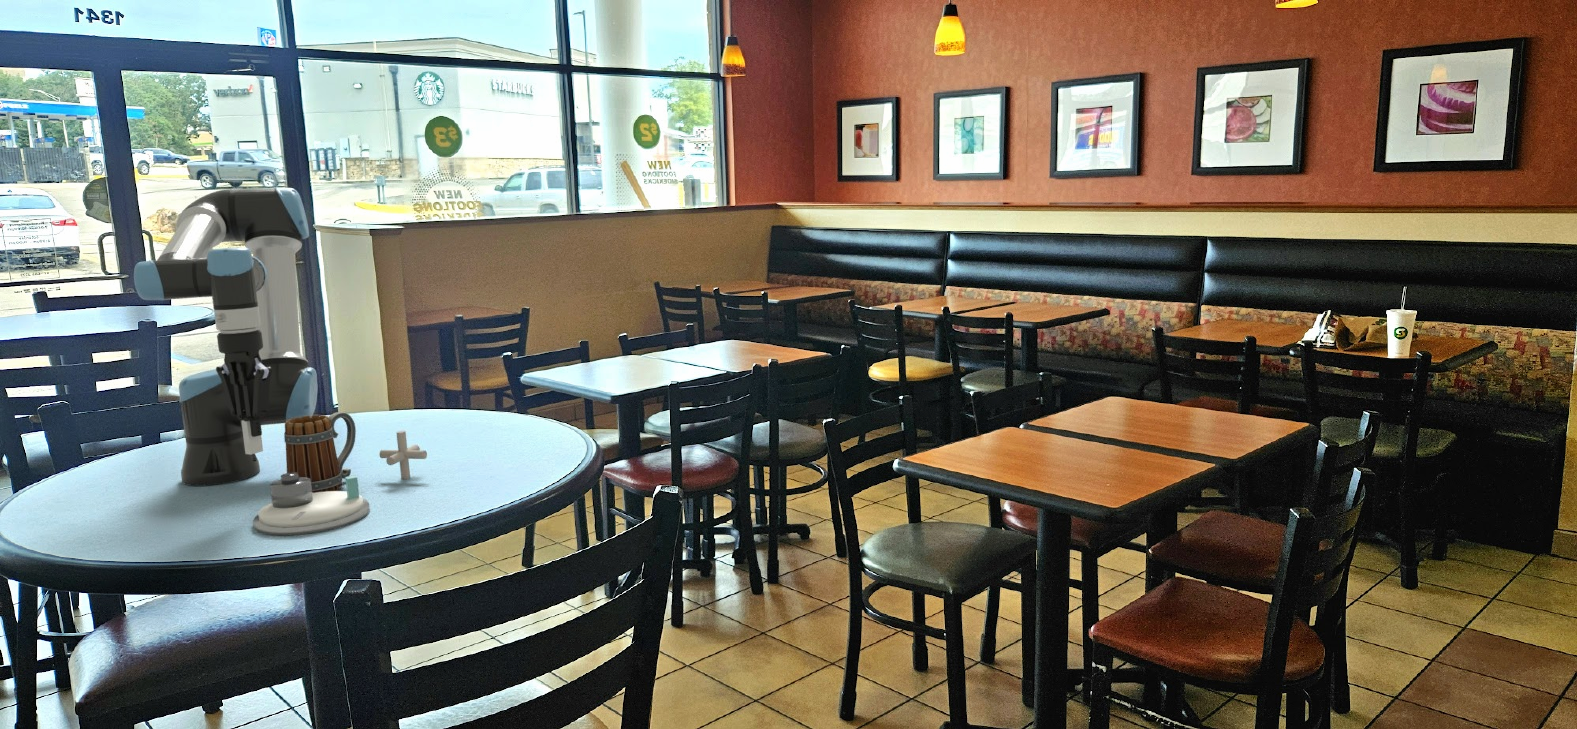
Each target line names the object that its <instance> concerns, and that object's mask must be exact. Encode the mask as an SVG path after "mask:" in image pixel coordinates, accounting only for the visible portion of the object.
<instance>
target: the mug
mask: <svg viewBox="0 0 1577 729" xmlns="http://www.w3.org/2000/svg"><path fill="white" fill-rule="evenodd" d="M352 417H353V416H351V415H350V414H348V413H347V412H339V411H337V412H333V413H331V415H330V416H328V415H325V414H321V415H320V414H313V415H312V417H310V416H302V418H300V417H295V418H293V419H289V420H287V421H286V423H284V434H283V437H284V438H283V439H284V443H285V456H286V457H285V458H286V461H285V462H286V473H292V472H296V473H298V476H299V477H307V478H310V479H311V487H312V493H316V492H327V491H339V490H340V489H341V487H342V486H343V479H345V477H349V476H351V473H352V469H351V468H343V466H344V465H345V462H346V461H347V460H348V457H349V456H350V455H351V453H352V451H353V449H354V446H355V443H356V435H357V434H356V432H357V430H356V423H355V420H354V418H352ZM338 419H343V420H344V423H345V425H346V442H345V444H344V447H343V449H342V450H341V452H340V454H339V455H338V456H337V451H336V445H335V439H337V437H338V436H339V433H338V432H336V430H335V424H336V422H337V420H338Z"/></svg>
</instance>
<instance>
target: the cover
mask: <svg viewBox="0 0 1577 729" xmlns="http://www.w3.org/2000/svg"><path fill="white" fill-rule="evenodd" d="M269 488H270V494H271V503H272V505H273V507H275V508H293V507H298V506H303V505H306V504H308V503H310V502H312V501H313V495H312V487H311V479H310V478H307V477H299V476H298V473H296V472H292V473H287V472H286V473H283V474H280V479H278V480H276V481H273V482H271V483H270V485H269Z"/></svg>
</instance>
